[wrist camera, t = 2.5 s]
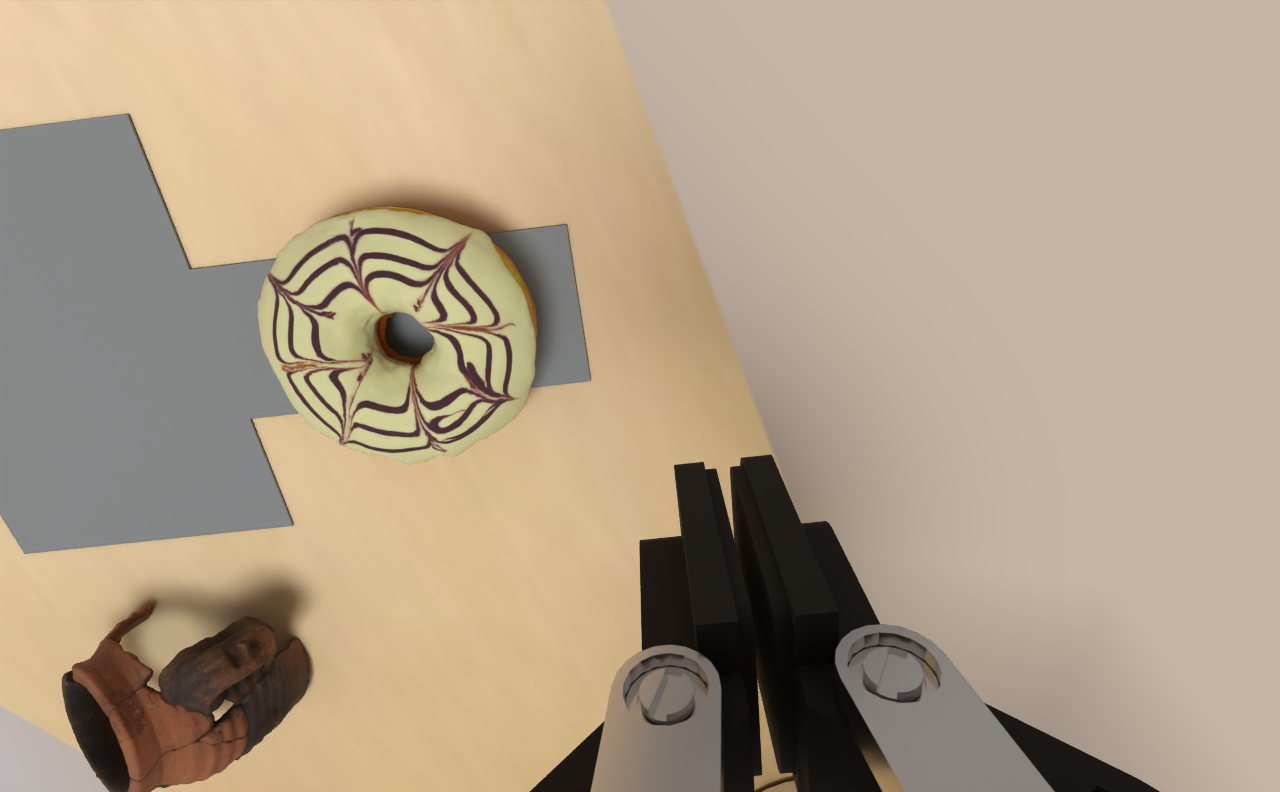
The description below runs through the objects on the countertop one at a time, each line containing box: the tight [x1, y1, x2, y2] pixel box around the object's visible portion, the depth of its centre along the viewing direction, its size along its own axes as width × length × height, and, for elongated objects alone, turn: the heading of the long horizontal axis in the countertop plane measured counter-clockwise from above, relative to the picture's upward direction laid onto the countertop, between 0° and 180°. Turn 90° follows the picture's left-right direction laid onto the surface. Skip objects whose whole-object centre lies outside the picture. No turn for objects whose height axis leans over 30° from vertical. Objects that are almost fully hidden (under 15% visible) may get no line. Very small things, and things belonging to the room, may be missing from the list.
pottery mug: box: [62, 606, 308, 792], centre depth 32 cm, size 12×10×8 cm
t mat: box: [0, 114, 591, 554], centre depth 28 cm, size 30×19×1 cm, turn 96°
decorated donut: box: [257, 206, 537, 464], centre depth 26 cm, size 10×11×4 cm
